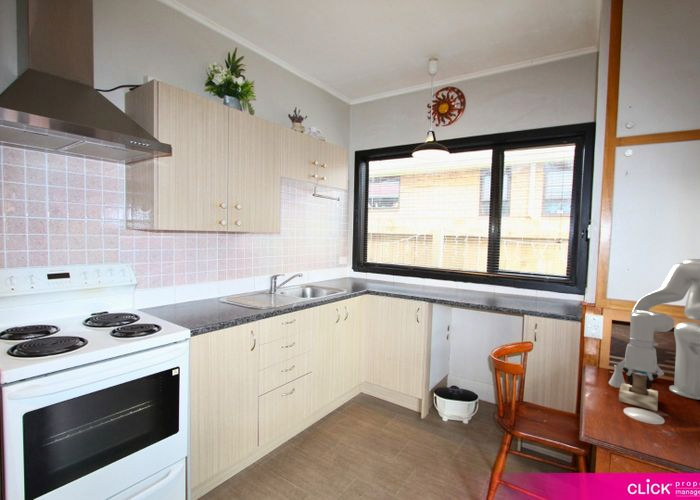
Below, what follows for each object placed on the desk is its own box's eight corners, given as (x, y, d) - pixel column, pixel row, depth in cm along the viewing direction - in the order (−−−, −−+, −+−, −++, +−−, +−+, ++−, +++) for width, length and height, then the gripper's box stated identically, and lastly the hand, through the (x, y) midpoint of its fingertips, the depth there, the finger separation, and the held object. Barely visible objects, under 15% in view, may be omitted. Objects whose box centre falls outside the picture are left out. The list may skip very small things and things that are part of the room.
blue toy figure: (655, 374, 173) (649, 363, 169) (654, 385, 170) (648, 373, 166) (628, 370, 181) (621, 359, 178) (626, 380, 179) (619, 369, 175)
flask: (620, 384, 164) (621, 363, 164) (631, 391, 157) (632, 369, 156) (604, 383, 165) (605, 362, 164) (614, 390, 158) (615, 368, 157)
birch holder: (657, 402, 146) (658, 391, 146) (657, 413, 137) (657, 400, 137) (621, 393, 154) (621, 382, 154) (618, 403, 145) (619, 391, 145)
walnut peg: (639, 395, 148) (640, 372, 148) (650, 401, 143) (651, 377, 143) (628, 396, 148) (629, 372, 148) (638, 401, 143) (639, 377, 143)
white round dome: (644, 410, 139) (644, 407, 139) (673, 426, 127) (673, 423, 127) (615, 410, 139) (615, 407, 139) (642, 427, 127) (642, 423, 127)
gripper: (669, 345, 142) (666, 389, 143) (616, 337, 153) (614, 378, 154) (669, 350, 136) (667, 395, 137) (614, 341, 147) (613, 383, 148)
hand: (639, 385), depth 145 cm, fingers closed on walnut peg, 5 cm apart
